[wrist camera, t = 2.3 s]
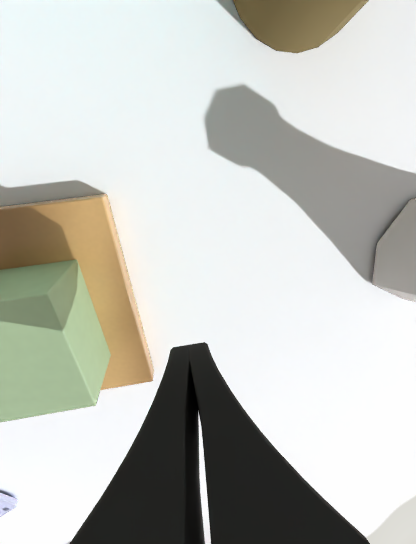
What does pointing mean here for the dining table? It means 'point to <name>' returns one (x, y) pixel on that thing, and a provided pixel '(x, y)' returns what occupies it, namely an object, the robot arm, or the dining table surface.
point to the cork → (296, 21)
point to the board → (84, 271)
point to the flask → (398, 256)
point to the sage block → (48, 341)
